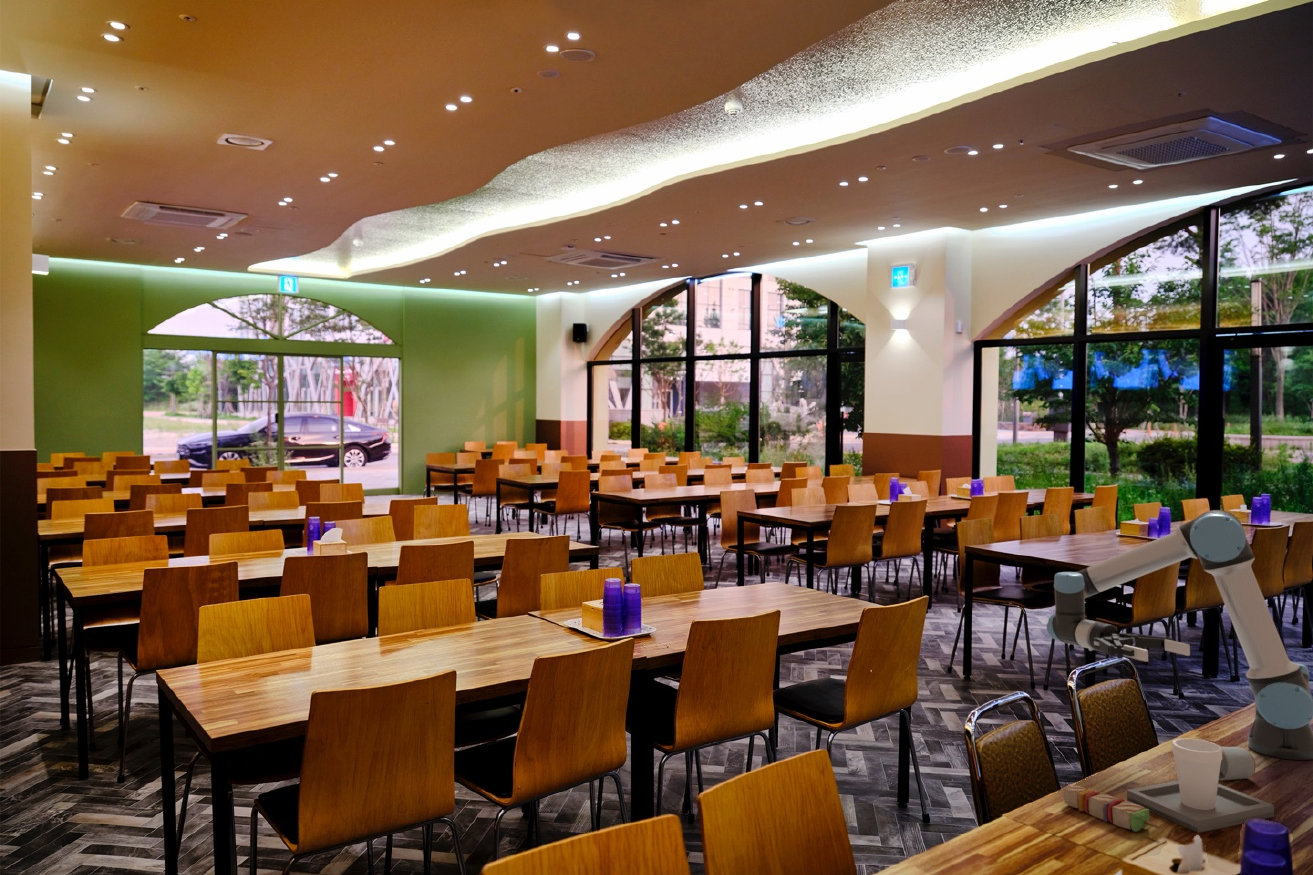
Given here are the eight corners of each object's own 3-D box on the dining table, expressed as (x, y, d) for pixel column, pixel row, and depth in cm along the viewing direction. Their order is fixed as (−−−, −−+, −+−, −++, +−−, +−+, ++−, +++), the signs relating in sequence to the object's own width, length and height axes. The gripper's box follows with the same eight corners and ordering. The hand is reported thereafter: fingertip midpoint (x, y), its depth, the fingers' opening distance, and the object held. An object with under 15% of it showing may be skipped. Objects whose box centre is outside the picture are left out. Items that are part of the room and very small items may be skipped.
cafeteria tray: (1199, 786, 212) (1199, 776, 212) (1274, 816, 195) (1273, 804, 195) (1126, 800, 205) (1126, 789, 205) (1197, 832, 188) (1197, 820, 188)
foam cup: (1222, 800, 202) (1221, 742, 202) (1224, 815, 194) (1222, 754, 194) (1173, 792, 206) (1172, 735, 206) (1173, 807, 198) (1171, 748, 198)
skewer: (1060, 807, 202) (1059, 785, 202) (1078, 801, 206) (1078, 779, 206) (1149, 842, 184) (1149, 818, 184) (1168, 835, 187) (1168, 811, 188)
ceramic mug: (1259, 782, 214) (1258, 749, 214) (1228, 785, 213) (1227, 752, 213) (1223, 767, 225) (1222, 736, 225) (1194, 769, 223) (1193, 738, 223)
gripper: (1134, 645, 245) (1206, 662, 225) (1062, 655, 236) (1129, 674, 216) (1133, 618, 245) (1205, 632, 225) (1061, 626, 236) (1128, 642, 216)
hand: (1168, 652), depth 220 cm, fingers open, 13 cm apart
